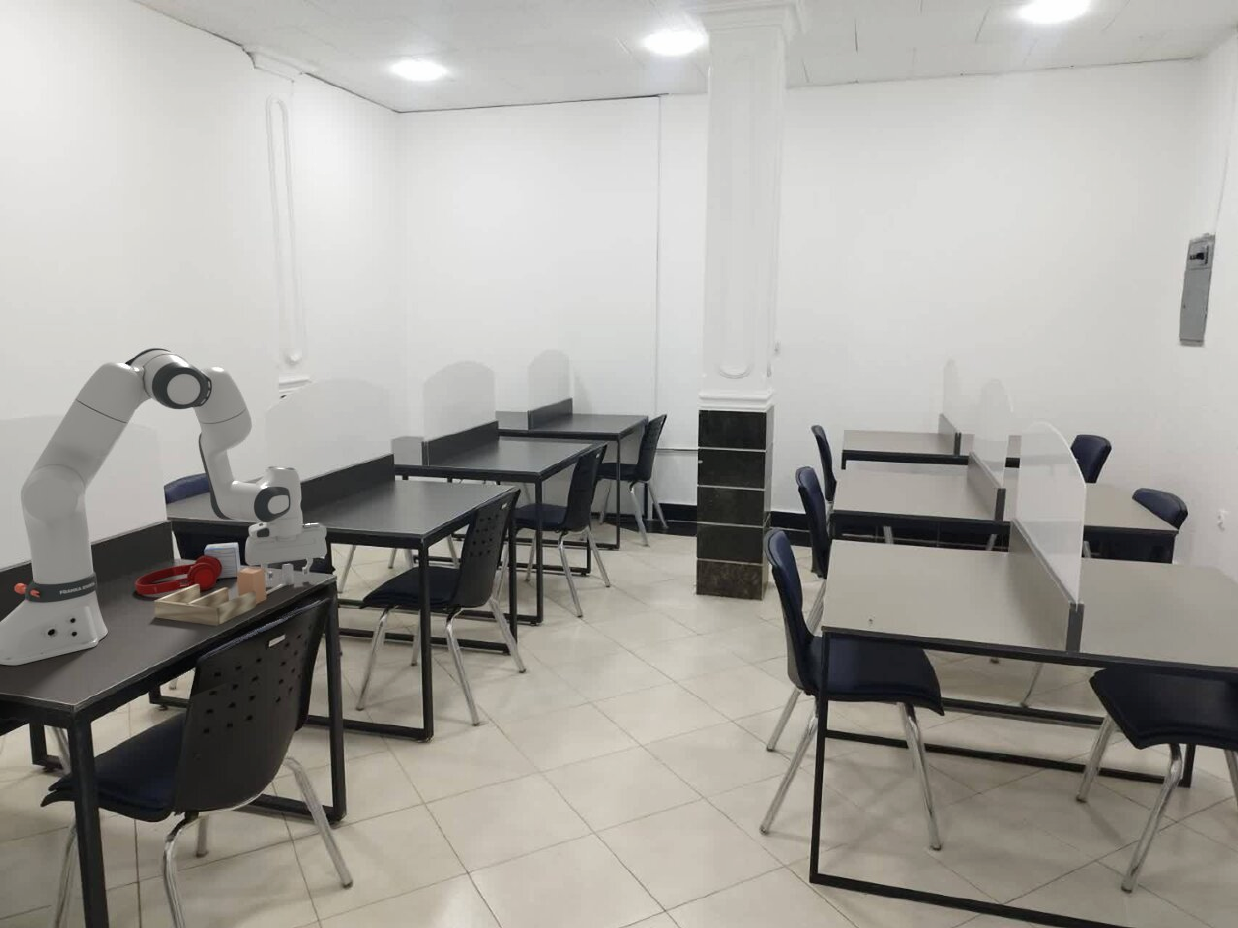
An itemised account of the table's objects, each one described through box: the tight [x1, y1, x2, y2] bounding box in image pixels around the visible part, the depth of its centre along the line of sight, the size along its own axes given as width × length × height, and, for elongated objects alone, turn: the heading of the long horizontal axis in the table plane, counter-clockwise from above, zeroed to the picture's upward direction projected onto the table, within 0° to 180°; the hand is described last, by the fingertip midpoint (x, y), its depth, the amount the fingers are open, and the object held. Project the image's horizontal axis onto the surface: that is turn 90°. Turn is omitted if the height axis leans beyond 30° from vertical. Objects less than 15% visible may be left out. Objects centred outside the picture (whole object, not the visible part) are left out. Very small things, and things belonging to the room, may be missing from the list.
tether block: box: [236, 563, 295, 605], centre depth 223 cm, size 18×4×8 cm, turn 166°
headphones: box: [134, 554, 222, 596], centre depth 226 cm, size 15×7×20 cm
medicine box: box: [203, 542, 242, 580], centre depth 235 cm, size 8×4×9 cm, turn 106°
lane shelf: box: [153, 584, 257, 627], centre depth 209 cm, size 14×18×4 cm
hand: (287, 576), depth 231 cm, fingers open, 8 cm apart
